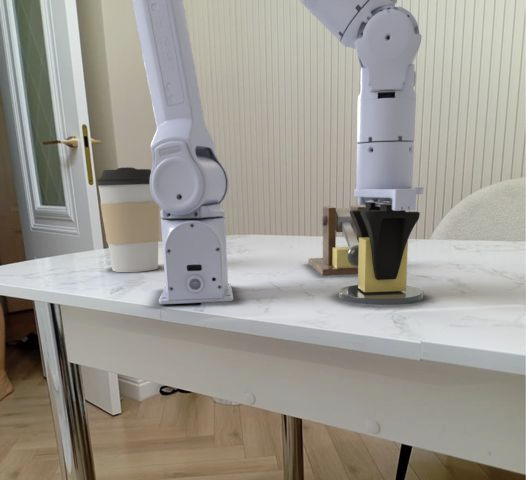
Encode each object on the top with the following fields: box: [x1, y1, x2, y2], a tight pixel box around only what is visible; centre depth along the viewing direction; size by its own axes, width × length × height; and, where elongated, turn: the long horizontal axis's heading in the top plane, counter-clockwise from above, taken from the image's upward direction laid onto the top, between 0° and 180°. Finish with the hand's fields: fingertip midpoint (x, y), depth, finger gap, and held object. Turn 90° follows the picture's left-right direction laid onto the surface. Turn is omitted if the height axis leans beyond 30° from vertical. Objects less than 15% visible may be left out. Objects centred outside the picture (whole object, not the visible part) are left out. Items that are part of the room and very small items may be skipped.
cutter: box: [307, 205, 365, 277], centre depth 84 cm, size 12×8×9 cm, turn 5°
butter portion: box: [357, 237, 409, 293], centre depth 63 cm, size 3×4×6 cm, turn 95°
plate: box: [338, 284, 424, 306], centre depth 64 cm, size 9×9×1 cm
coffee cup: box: [96, 166, 160, 273], centre depth 89 cm, size 9×9×15 cm
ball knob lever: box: [335, 207, 359, 267], centre depth 79 cm, size 13×3×3 cm, turn 5°
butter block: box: [332, 246, 358, 268], centre depth 81 cm, size 3×4×2 cm
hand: (381, 276), depth 64 cm, fingers closed on butter portion, 3 cm apart
